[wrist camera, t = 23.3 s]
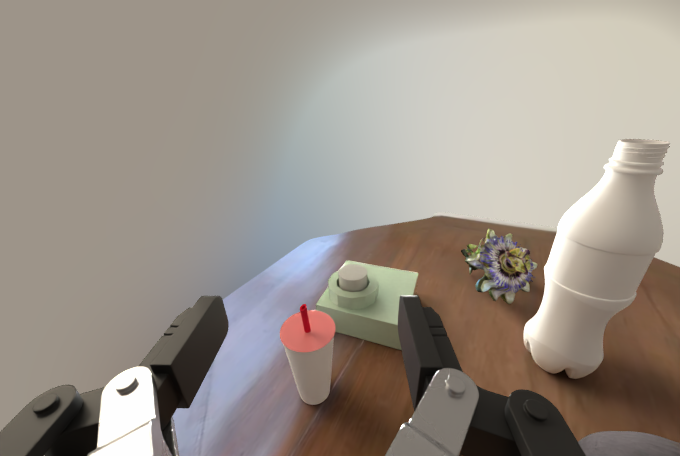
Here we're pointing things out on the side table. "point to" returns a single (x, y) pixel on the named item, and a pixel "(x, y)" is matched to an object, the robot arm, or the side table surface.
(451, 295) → the side table surface
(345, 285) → the button
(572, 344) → the water bottle
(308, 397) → the cup
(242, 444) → the side table surface
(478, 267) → the passion flower
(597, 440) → the seashell
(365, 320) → the green button box
